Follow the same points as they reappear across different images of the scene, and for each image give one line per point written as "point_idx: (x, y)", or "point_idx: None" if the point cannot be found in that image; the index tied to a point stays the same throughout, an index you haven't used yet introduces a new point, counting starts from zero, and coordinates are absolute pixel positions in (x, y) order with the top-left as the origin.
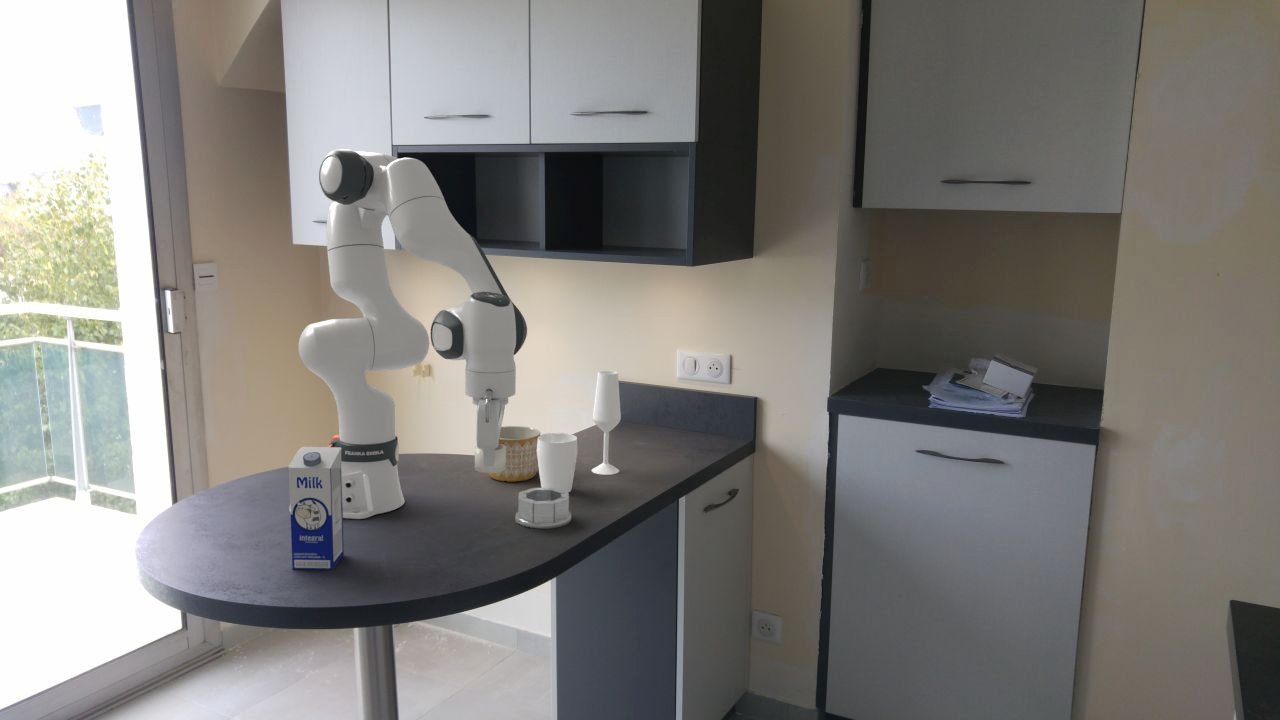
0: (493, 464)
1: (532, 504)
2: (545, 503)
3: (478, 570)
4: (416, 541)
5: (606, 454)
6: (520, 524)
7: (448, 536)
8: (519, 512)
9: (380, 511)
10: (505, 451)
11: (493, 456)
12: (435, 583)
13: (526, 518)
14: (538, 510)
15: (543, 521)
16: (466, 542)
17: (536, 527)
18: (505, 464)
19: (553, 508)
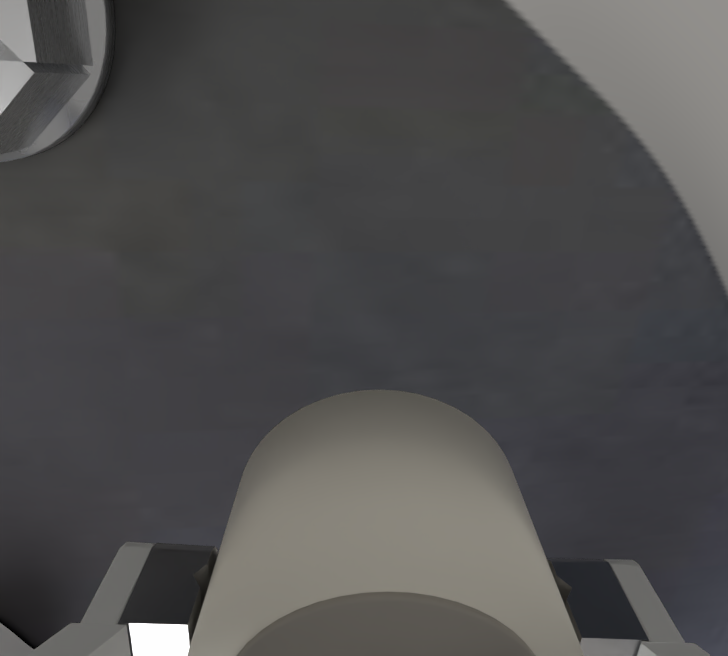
0: (638, 566)
1: (37, 73)
2: None
3: (590, 316)
4: None
5: None
6: (68, 136)
7: (229, 428)
8: (15, 146)
9: (16, 644)
10: (432, 520)
11: (696, 649)
12: (668, 446)
13: (58, 106)
14: (54, 33)
15: (81, 6)
16: (295, 365)
17: (110, 51)
18: (405, 416)
19: None
